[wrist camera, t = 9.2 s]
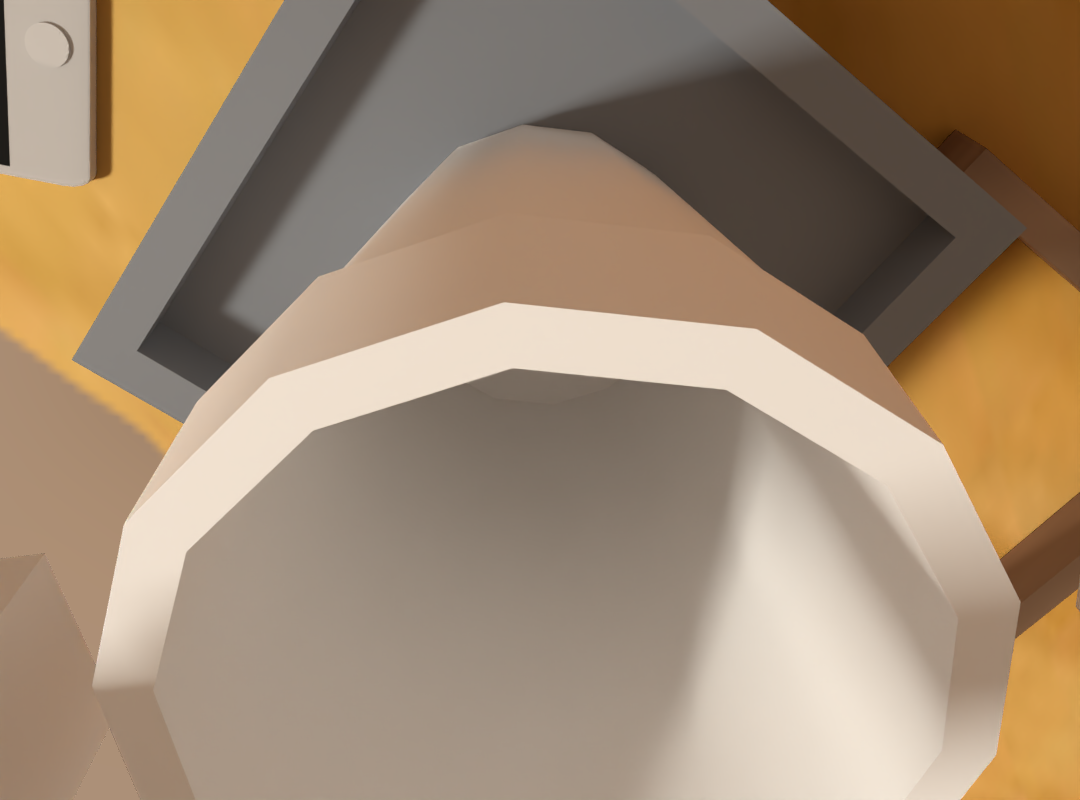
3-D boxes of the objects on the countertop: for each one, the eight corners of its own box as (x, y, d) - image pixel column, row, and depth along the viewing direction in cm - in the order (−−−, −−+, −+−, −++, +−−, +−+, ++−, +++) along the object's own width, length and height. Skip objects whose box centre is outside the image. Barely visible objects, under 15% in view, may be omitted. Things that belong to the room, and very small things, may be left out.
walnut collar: (1244, 387, 30) (1289, 419, 29) (926, 650, 35) (948, 692, 33) (955, 129, 27) (986, 148, 25) (642, 464, 31) (649, 500, 30)
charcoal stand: (901, 137, 27) (1027, 228, 20) (578, 491, 32) (593, 657, 25) (470, -238, 22) (449, -279, 16) (179, 240, 28) (71, 360, 21)
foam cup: (248, 328, 22) (-36, 818, 11) (458, -54, 19) (362, 83, 7) (599, 513, 25) (665, 1067, 14) (843, 209, 21) (1216, 615, 10)
